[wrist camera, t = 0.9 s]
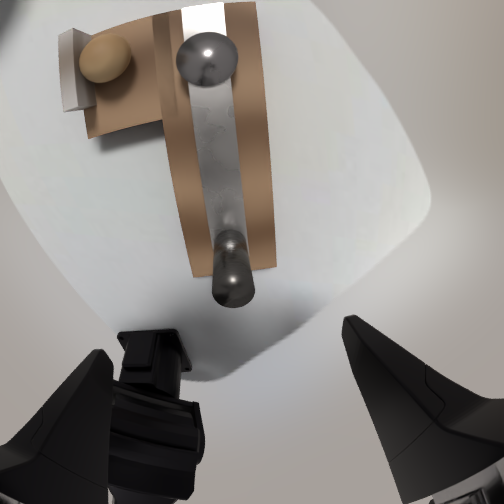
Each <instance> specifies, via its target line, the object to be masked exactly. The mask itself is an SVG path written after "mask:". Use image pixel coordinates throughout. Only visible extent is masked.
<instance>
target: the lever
mask: <svg viewBox="0 0 504 504" xmlns="http://www.w3.org/2000/svg"><path fill="white" fill-rule="evenodd" d="M181 9H182V23H183V35H184V43H183V44H182V45H181V46H180V48H179V50H178V52H177V56H176V66H177V69H178V71H179V73H180V75H181V76H182V77H183V78H184V79H185V80H186V81H188V85H189V94H190V102H191V111H192V119H193V126H194V134H195V141H196V148H197V155H198V162H199V169H200V176H201V182H202V188H203V195H204V201H205V207H206V213H207V219H208V225H209V231H210V236H211V242H212V247H213V282H212V294H213V297H214V299H215V301H216V302H217V303H219V304H220V305H222V306H224V307H228V308H238V307H242V306H244V305H246V304H248V303H249V302H250V301H251V300H252V298H253V297H254V294H255V288H254V282H253V277H252V271H251V266H250V260H249V247H248V238H247V229H246V220H245V210H244V201H243V191H242V182H241V173H240V163H239V154H238V144H237V135H236V125H235V115H234V106H233V96H232V86H231V76H232V75H233V73H234V72H235V69H236V67H237V63H238V51H237V48H236V46H235V44H234V43H233V41H232V40H231V39H229V38H228V37H227V36H226V27H225V17H224V7H223V3H215V4H206V5H199V6H192V7H186V8H181Z"/></svg>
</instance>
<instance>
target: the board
mask: <svg viewBox="0 0 504 504" xmlns="http://www.w3.org/2000/svg"><path fill="white" fill-rule="evenodd" d="M223 7H224V17H225V27H226V36H227V37H228V38H229V39H231V40H232V41H233V43H234V44H235V46H236V48H237V51H238V63H237V67H236V69H235V72H234V73H233V75H232V76H231V86H232V96H233V106H234V115H235V125H236V135H237V144H238V154H239V163H240V173H241V182H242V191H243V201H244V210H245V220H246V229H247V238H248V247H249V260H250V266H251V270H257V269H265V268H272V267H277V262H276V242H275V224H274V207H273V191H272V176H271V161H270V148H269V135H268V122H267V110H266V99H265V88H264V77H263V67H262V57H261V47H260V38H259V29H258V20H257V11H256V3H255V2H236V3H223ZM183 43H184V35H183V23H182V9H180V10H175V11H170V12H166V13H161V14H157V15H153V16H149V17H145V18H141V19H138V20H134V21H131V22H128V23H125V24H122V25H119V26H116V27H113V28H110V29H107V30H104V31H102V32H99V33H97V34H94V35H92V36H91V35H89V34H86V33H84V32H82V31H79V30H77V29H74V28H72V29H70V30H68V31H66V32H64V33H62V34H60V35H58V46H59V72H60V85H61V95H62V104H63V112H69V111H77V110H84V116H85V122H86V129H87V134H88V139H90V138H93V137H97V136H100V135H103V134H106V133H110V132H113V131H117V130H120V129H124V128H128V127H132V126H136V125H140V124H144V123H148V122H152V121H157V120H162V121H163V128H164V135H165V141H166V147H167V153H168V159H169V165H170V171H171V176H172V182H173V187H174V192H175V197H176V202H177V207H178V212H179V217H180V222H181V226H182V231H183V235H184V240H185V244H186V249H187V253H188V257H189V261H190V265H191V270H192V274H193V278H194V277H202V276H210V275H213V247H212V242H211V236H210V231H209V225H208V219H207V213H206V207H205V201H204V195H203V188H202V182H201V176H200V169H199V162H198V155H197V148H196V141H195V134H194V126H193V119H192V111H191V102H190V94H189V85H188V81H186V80H185V79H184V78H183V77H182V76H181V75H180V73H179V71H178V69H177V66H176V56H177V52H178V50H179V48H180V46H181V45H182V44H183Z"/></svg>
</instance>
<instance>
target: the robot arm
mask: <svg viewBox="0 0 504 504" xmlns="http://www.w3.org/2000/svg"><path fill="white" fill-rule="evenodd" d="M117 339H118V340H119V342H120V344H121V346H122V347H123V349H124V351H125V354H124V358H123V361H122V369H121V374H120V377H119V381H116V380H114V379H113V372H114V371H113V370H114V366H113V363H112V361H111V359H110V358H109V357H108V355H107V354H106V352H105V351H104V350H103V349H94V350H93V351H92V352H91V353H90V354H89V355H88V356H87V357H86V358H85V359H84V360H83V361H82V362H81V363H80V364H79V366H78V367H77V368H76V369H75V370H74V371H73V372H72V373H71V374H70V376H68V377H67V379H66V380H65V381H64V382H63V383H62V384H61V385H60V386H59V388H58V389H57V390H56V391H55V392H54V393H53V394H52V395H51V397H50V398H49V399H48V400H47V401H46V402H45V403H44V405H43V407H41V408H40V409H39V410H38V411H37V413H36V414H35V415H34V416H33V417H32V418H31V419H30V420H29V421H28V422H27V424H26V425H25V426H24V427H23V428H22V429H21V430H20V431H19V432H18V433H17V434H16V435H15V436H14V437H13V438H12V439H11V440H10V441H8V442H7V443H6V444H4V445H1V446H0V504H108V488H109V490H110V492H111V494H112V495H113V500H112V504H174V503H175V502H176V501H177V500H178V499H179V500H188V499H189V497H190V496H191V494H192V493H193V492H194V481H195V470H196V465H198V464H199V463H200V462H201V460H202V457H203V454H204V448H205V434H204V429H203V424H202V418H201V413H200V407H199V403H198V402H194V401H193V402H189V401H185V400H180V399H179V394H180V380H181V372H189V371H191V370H192V365H191V363H190V360H189V358H188V356H187V353H186V351H185V348H184V346H183V343H182V341H181V338H180V336H179V333H178V331H177V330H175V329H165V330H151V331H133V332H119V333H118V335H117ZM342 339H343V342H344V346H345V348H346V352H347V356H348V359H349V362H350V366H351V369H352V372H353V375H354V377H355V380H356V382H357V385H358V387H359V389H360V391H361V394H362V397H363V399H364V401H365V404H366V406H367V409H368V411H369V414H370V416H371V419H372V421H373V424H374V426H375V429H376V431H377V434H378V436H379V439H380V441H381V444H382V447H383V450H384V452H385V455H386V457H387V460H388V462H389V466H390V469H391V472H392V474H393V477H394V480H395V483H396V486H397V489H398V492H399V495H400V498H401V501H402V503H403V504H408V503H411V502H414V501H417V500H420V499H423V498H425V497H428V496H430V495H432V497H433V499H432V500H431V501H430V502H429V504H504V399H489V398H485V397H481V396H479V395H477V394H475V393H473V392H472V391H470V390H468V389H466V388H464V387H462V386H460V385H459V384H457V383H455V382H453V381H452V380H450V379H448V378H446V377H445V376H443V375H442V374H440V373H438V372H437V371H436V370H434V369H433V368H431V367H430V366H428V365H427V364H426V365H425V363H424V362H423V361H421V360H420V359H418V358H417V357H415V356H414V355H412V354H411V353H410V352H408V351H407V350H405V349H404V348H403V347H401V346H399V345H398V344H397V343H395V342H394V341H393V340H391V339H390V338H388V337H387V336H385V335H384V334H382V333H381V332H380V331H378V330H377V329H375V328H374V327H373V326H371V325H369V324H368V323H367V322H365V321H364V320H362V319H361V318H359V317H358V316H356V315H350V316H346V317H344V321H343V326H342Z"/></svg>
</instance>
